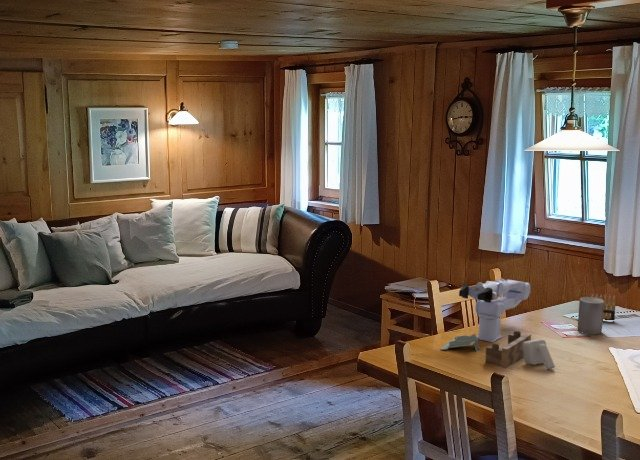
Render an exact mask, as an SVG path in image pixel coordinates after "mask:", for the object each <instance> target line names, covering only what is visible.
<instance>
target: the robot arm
mask: <svg viewBox="0 0 640 460" xmlns="http://www.w3.org/2000/svg"><path fill="white" fill-rule="evenodd" d="M459 289H460V290H459V291H458V296H459V297H461V299H467V300H468V298H469V297H470V298H473V299H474V300H475V301H476V303H475V306H474V310H475V313H476V314H477V317H479V318H478V319H479V321H478V335H476V337H480V338H479V339H478V340H481V341H486V342H489V343H495V342H496V341H497V340H500V339H501V338H502V337H503V335H501V319H500V318H501V317H502V316H503V315H504V314H505V311H507V310H510V309H511V310H512V309H514V308H516V307H517V306H518V305H519V304H520V303H521V302H522V301H524V300H527V299H528V298H529V296H530V294H531V284H530V283H529V282H525V281H520V280H519V281H518V280H513V279H506V280H505V279H504V278H499V280H498V279H496V280H495V281H493V280H492V281H491V280H486V281H485V283H483V282H481V281H480V282H479V281H478V282H477V283H476V285H472V286H469V284H467V283H463V284H462V286H461V287H460V288H459Z"/></svg>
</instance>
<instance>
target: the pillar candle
mask: <svg viewBox="0 0 640 460" xmlns="http://www.w3.org/2000/svg"><path fill="white" fill-rule="evenodd" d="M578 305H579V306H578V318H577V329H578V330H577V332H579V331H580V332H579V333H581V332H583V333H582V334H584V333H587V334H586V335H590V334H593V335H600V333H601V334H602V331H603V322H604V321H603V308H604V299H603V298H602V299H600V297H598V298H596V296H594V297H591V296H583V297H580V298H579V304H578Z"/></svg>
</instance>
